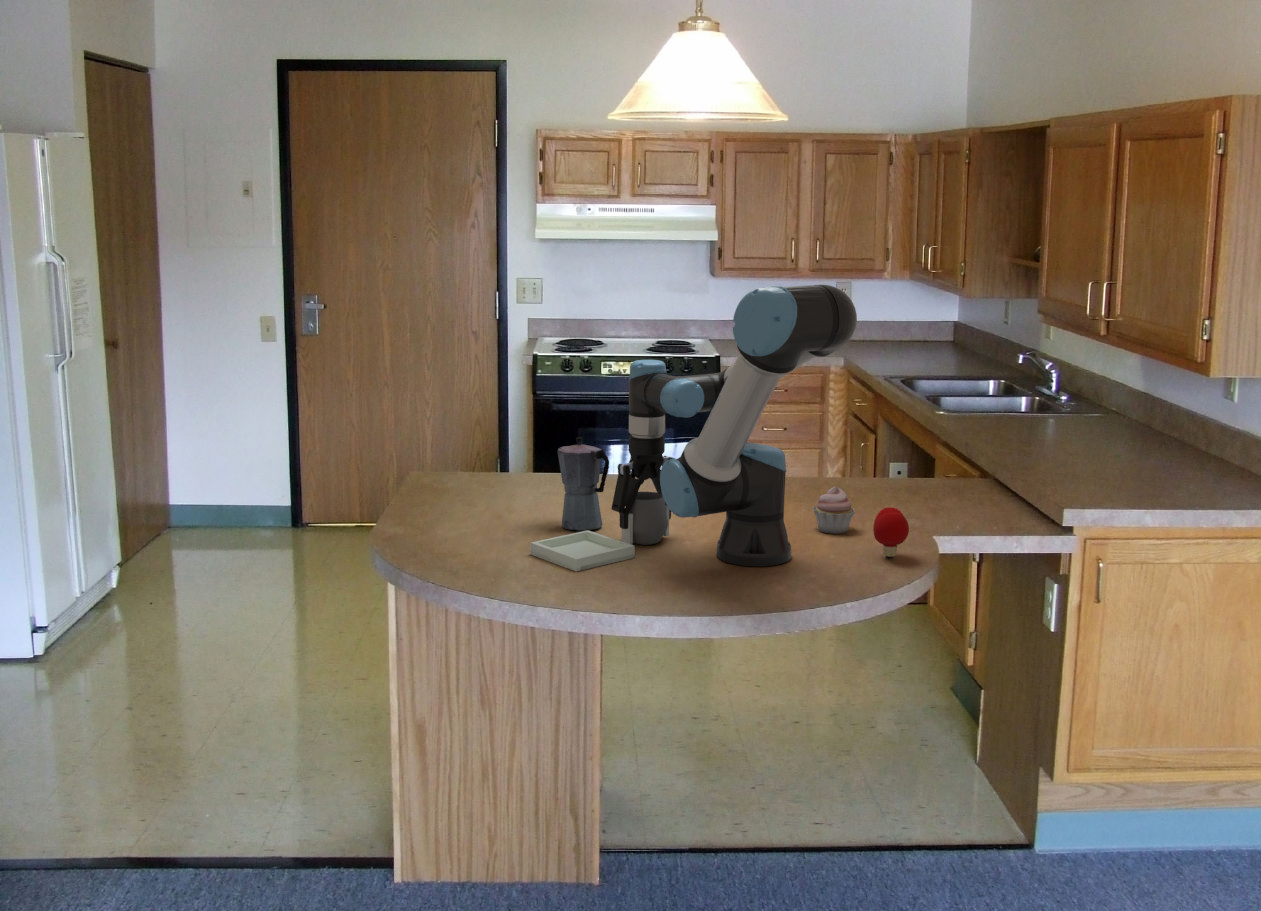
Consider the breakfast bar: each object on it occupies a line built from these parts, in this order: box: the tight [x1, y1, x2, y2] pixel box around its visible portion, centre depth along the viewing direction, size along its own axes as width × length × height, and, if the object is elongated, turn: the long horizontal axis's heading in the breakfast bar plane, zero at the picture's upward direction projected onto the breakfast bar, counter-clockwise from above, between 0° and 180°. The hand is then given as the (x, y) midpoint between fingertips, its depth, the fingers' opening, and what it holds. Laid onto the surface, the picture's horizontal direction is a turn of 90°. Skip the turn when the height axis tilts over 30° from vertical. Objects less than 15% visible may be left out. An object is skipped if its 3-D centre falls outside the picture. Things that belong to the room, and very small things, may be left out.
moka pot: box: [557, 436, 610, 532], centre depth 286 cm, size 10×15×20 cm, turn 51°
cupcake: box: [812, 486, 856, 535], centre depth 287 cm, size 9×9×10 cm
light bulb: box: [873, 507, 910, 559], centre depth 267 cm, size 9×7×10 cm
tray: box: [529, 530, 636, 572], centre depth 267 cm, size 15×15×2 cm
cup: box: [630, 490, 668, 546], centre depth 277 cm, size 10×9×10 cm
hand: (645, 538), depth 278 cm, fingers closed on cup, 9 cm apart
